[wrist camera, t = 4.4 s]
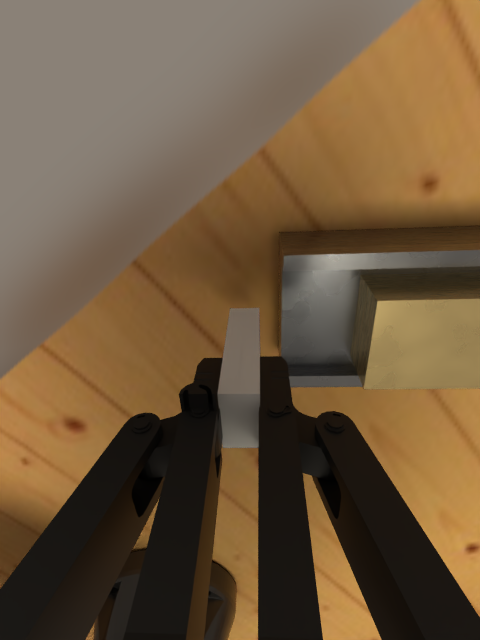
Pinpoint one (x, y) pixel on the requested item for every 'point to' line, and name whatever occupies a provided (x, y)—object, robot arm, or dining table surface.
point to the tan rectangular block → (418, 331)
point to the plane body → (350, 288)
